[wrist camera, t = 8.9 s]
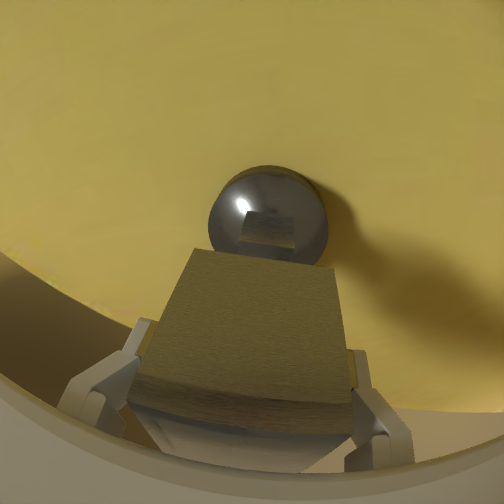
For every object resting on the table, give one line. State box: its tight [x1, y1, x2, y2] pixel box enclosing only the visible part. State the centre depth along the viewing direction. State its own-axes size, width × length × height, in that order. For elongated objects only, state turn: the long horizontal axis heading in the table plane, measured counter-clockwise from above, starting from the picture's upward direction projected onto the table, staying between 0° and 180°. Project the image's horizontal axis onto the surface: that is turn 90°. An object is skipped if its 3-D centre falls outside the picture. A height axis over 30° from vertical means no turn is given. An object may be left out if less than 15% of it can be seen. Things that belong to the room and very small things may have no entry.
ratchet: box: [208, 165, 328, 265], centre depth 18 cm, size 16×7×5 cm, turn 174°
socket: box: [125, 248, 354, 473], centre depth 9 cm, size 5×5×6 cm
